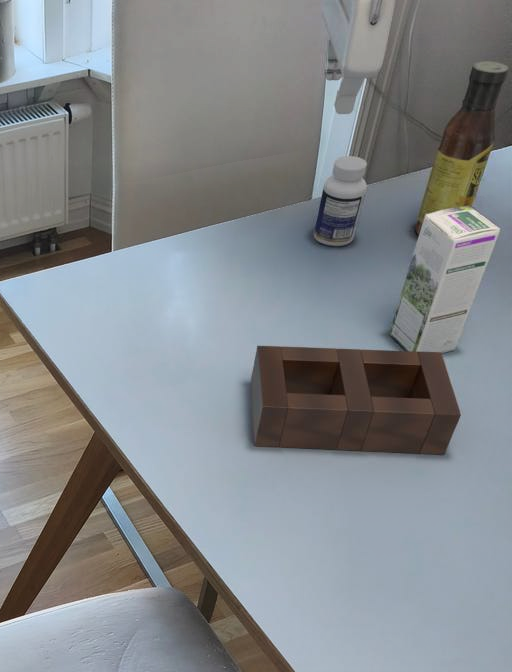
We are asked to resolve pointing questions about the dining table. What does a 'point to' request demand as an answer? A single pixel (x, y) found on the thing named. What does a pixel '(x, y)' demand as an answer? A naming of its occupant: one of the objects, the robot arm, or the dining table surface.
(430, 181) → the sauce bottle
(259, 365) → the socket block
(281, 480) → the dining table surface
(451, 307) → the syrup box
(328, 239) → the pill bottle
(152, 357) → the dining table surface
